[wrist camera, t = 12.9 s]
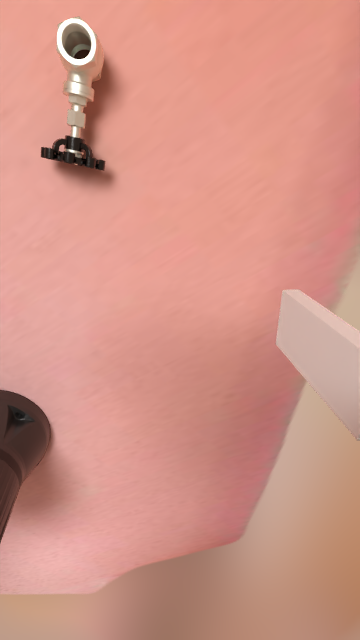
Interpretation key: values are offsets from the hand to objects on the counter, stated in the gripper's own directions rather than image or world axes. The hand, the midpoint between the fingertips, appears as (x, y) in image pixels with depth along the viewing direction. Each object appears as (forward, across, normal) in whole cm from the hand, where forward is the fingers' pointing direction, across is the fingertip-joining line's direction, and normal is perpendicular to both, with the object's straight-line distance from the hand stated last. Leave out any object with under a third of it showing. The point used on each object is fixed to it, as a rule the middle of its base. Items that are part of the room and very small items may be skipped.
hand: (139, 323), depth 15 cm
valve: (+31, +5, -13) cm, 34 cm away
